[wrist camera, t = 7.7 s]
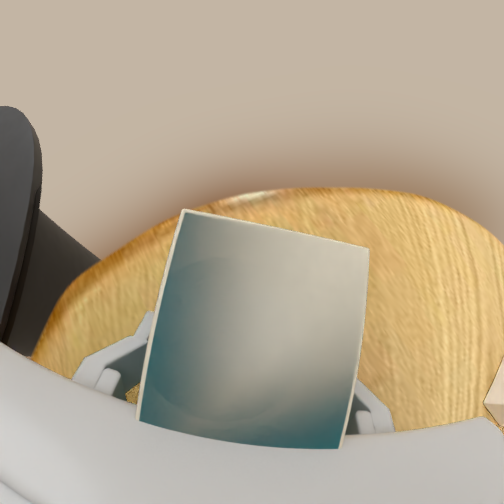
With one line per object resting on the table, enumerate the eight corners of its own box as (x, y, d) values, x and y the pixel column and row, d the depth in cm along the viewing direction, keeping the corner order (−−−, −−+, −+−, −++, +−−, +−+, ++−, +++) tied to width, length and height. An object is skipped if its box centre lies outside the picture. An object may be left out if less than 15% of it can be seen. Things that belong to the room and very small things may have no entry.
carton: (183, 398, 15) (128, 474, 5) (205, 288, 17) (181, 207, 7) (265, 413, 15) (326, 500, 5) (285, 303, 18) (370, 247, 7)
